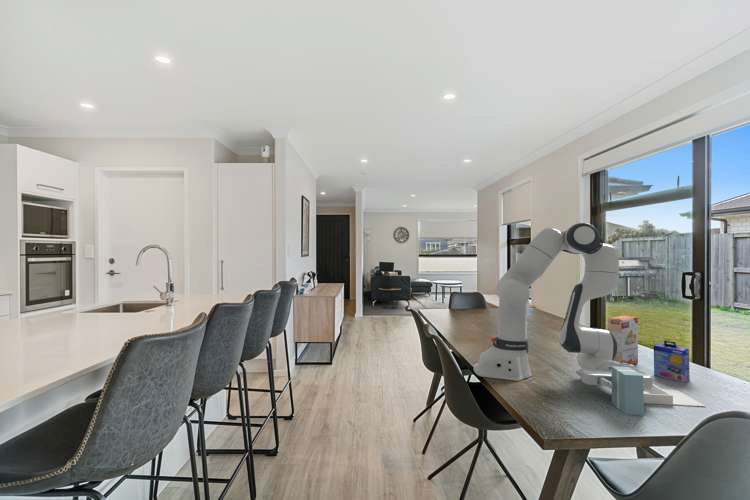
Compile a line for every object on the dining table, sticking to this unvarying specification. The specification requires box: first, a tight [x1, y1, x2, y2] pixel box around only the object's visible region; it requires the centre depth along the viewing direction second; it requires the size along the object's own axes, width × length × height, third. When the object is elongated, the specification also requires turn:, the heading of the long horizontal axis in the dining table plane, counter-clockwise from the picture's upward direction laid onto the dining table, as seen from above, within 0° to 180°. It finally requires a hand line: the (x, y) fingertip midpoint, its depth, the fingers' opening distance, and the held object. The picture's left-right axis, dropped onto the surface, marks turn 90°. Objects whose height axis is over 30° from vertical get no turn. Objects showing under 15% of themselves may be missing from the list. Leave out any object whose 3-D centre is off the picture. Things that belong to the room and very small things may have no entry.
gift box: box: [611, 366, 645, 417], centre depth 107 cm, size 5×8×12 cm, turn 170°
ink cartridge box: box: [653, 339, 691, 383], centre depth 134 cm, size 10×6×14 cm, turn 34°
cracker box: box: [607, 314, 639, 366], centre depth 150 cm, size 14×6×21 cm, turn 119°
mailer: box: [643, 383, 706, 408], centre depth 116 cm, size 19×13×3 cm
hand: (627, 387), depth 107 cm, fingers open, 7 cm apart
